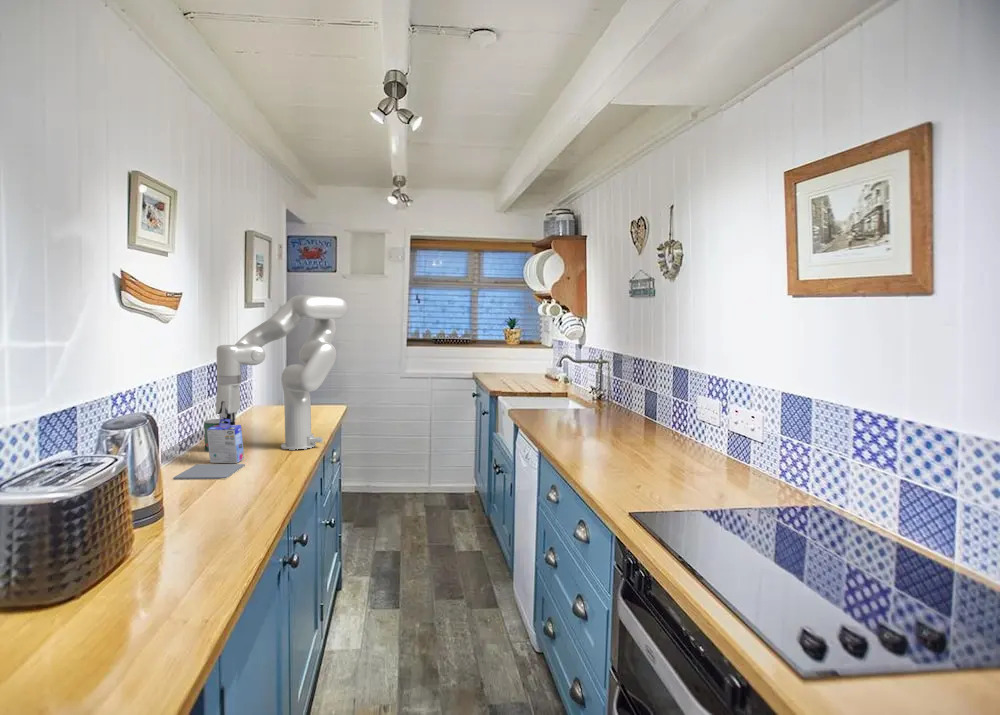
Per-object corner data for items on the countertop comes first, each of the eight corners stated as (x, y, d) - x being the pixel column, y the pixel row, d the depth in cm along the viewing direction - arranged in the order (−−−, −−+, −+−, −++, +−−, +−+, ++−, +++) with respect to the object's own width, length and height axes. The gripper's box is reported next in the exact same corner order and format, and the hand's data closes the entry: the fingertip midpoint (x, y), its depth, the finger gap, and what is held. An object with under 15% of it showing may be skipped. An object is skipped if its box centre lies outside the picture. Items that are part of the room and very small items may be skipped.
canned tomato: (222, 452, 226) (221, 422, 225) (200, 452, 226) (199, 422, 225) (231, 447, 234) (231, 418, 233) (211, 447, 234) (210, 418, 233)
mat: (245, 465, 207) (245, 464, 207) (226, 479, 191) (226, 477, 191) (196, 466, 206) (196, 464, 206) (173, 479, 190) (173, 477, 190)
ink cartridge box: (245, 457, 215) (241, 418, 211) (238, 463, 209) (234, 423, 206) (217, 457, 215) (212, 417, 212) (209, 463, 210) (205, 423, 206)
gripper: (226, 378, 221) (227, 428, 222) (208, 382, 206) (209, 437, 207) (247, 378, 221) (248, 429, 222) (231, 383, 206) (232, 437, 207)
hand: (229, 432), depth 215 cm, fingers closed
